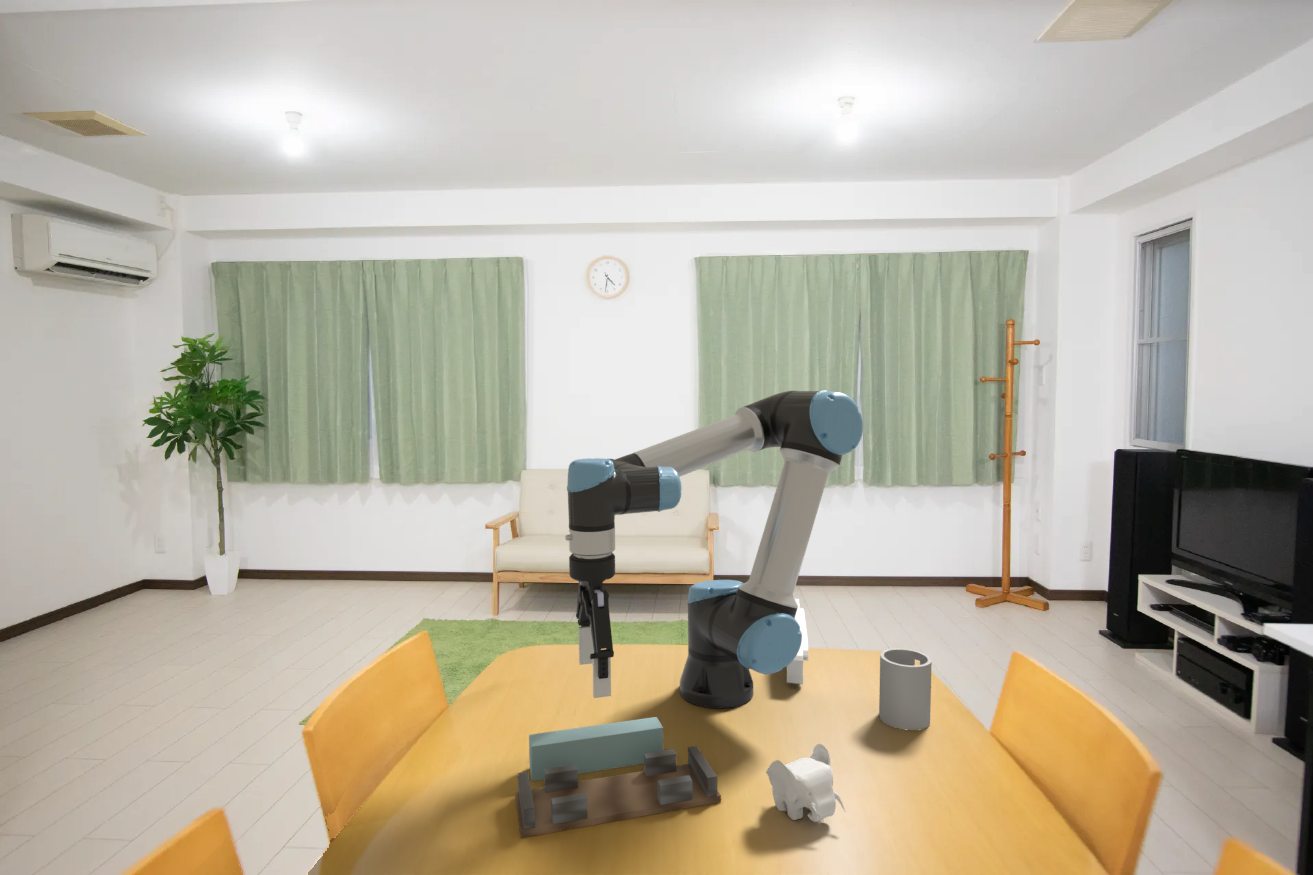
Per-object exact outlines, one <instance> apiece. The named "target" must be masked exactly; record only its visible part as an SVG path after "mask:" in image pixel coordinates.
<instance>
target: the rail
mask: <svg viewBox="0 0 1313 875" xmlns="http://www.w3.org/2000/svg"><path fill="white" fill-rule="evenodd" d="M528 751H529V752H528V753H529V754H528V756H529V757H528V758H529V759H528V760H529V773H530V779H531V781H532V782H533V781H541V780H544V769H549V768H556V767H562V766H569V765H575V764H576V765H577V768H578V775H579V774H586V773H592V772H593V773H594V772H597V771H603V770H610V769H611V770H612V769H618V768H623V767H629V766H636V765H644V754H646V753H652V752H659V751H664V726H663V725H662V724H661V722H660V720H659V718H658V716H653V717H645V718H638V719H631V720H623V721H618V722H617V721H616V722H610V723H602V724H596V725H590V726H582V727H581V726H580V727H575V728H567V729H561V730H553V731H546V732H545V731H544V732H538V733H531V734H529V735H528Z"/></svg>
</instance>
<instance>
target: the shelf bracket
mask: <svg viewBox="0 0 1313 875" xmlns="http://www.w3.org/2000/svg"><path fill="white" fill-rule="evenodd" d="M794 599H795V601H796V603H797V605H798V608H797V612H796V615H795V620H796V621H797V622H798V624H799V626H800V631H801V632H802V642H801V646H800V649H799V651H798V653H797V655H796V657H795V658H794V660H793V661H792V662H791V663H790V664H789V665H788V666H787V667H786V684H795V685H796V684H797V685H803V684H804V682H803V681H804V661H809V640H808V630H807V623H806V615H805V614H806V613H805V609H804V607H803V608H801V607H800V606H801V605H800V598H794Z"/></svg>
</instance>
